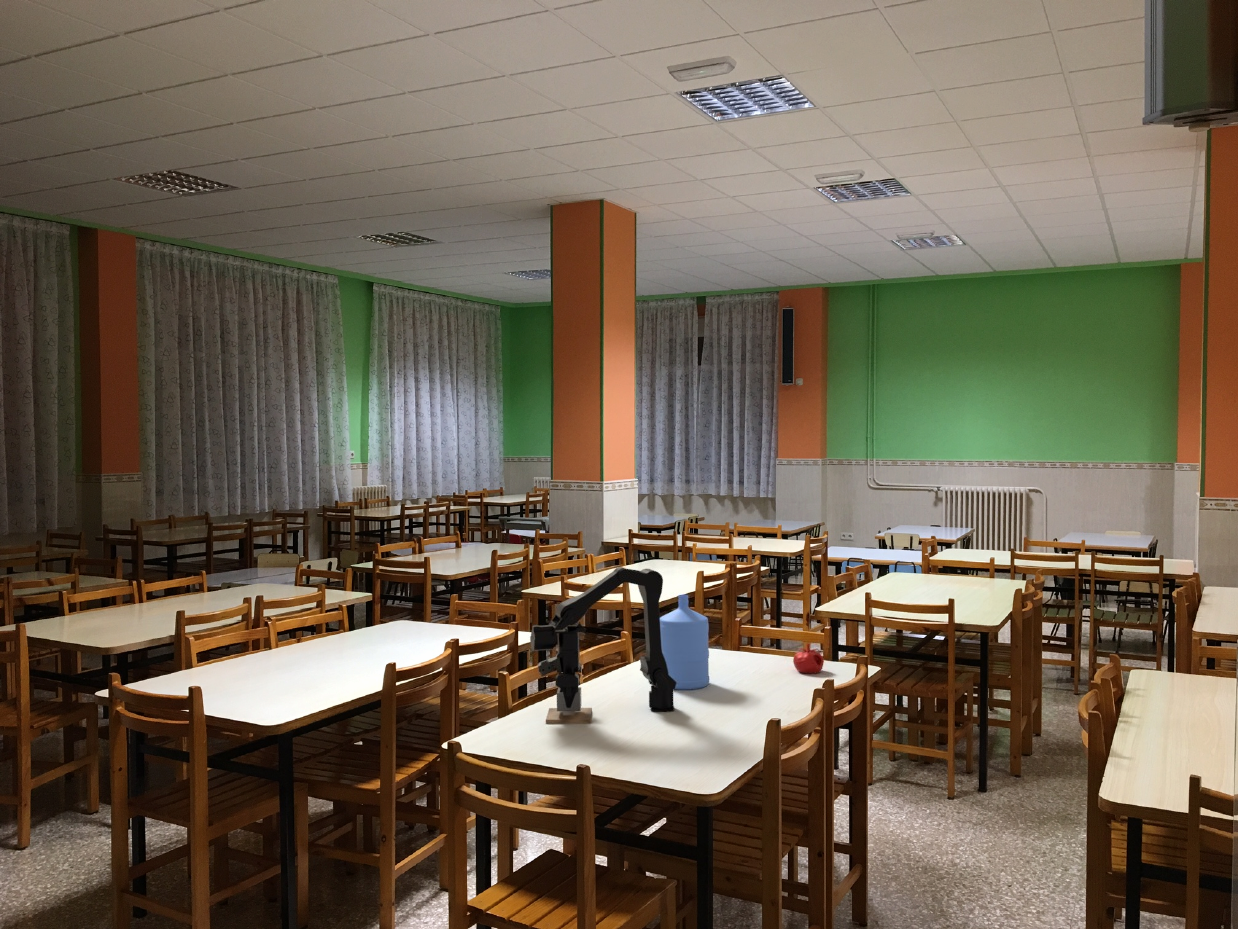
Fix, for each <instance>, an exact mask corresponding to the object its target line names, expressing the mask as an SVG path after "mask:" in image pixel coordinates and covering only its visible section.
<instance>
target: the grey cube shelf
mask: <svg viewBox="0 0 1238 929" xmlns="http://www.w3.org/2000/svg"><path fill="white" fill-rule="evenodd" d="M556 708H557V711H580V710H581V708H582V687H581V686H580V687H579V686H578V689H577V691H576V694H575V697H574V700H573V702H572V705H571V708H567V707H566V703H565V699H564V695H563V691H562V689H560V688H559V687H557V692H556Z"/></svg>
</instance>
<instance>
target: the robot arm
mask: <svg viewBox="0 0 1238 929" xmlns="http://www.w3.org/2000/svg"><path fill="white" fill-rule="evenodd" d="M624 583H627V584H631V585H632V584H634V585H637V587H638V591H639V594H640V596H641V599H642V602H643V619H644V622H643V623H644V635H645V636H644V637H645V653H644V656H639V662H640V669H639V671H640V672H641V673H642V675H643V677H644V678H645V679H646V680H648V683H649V685H650V690H649V691H648V706H649V708H650V711H651V712H674V711H675V707H674V690H676V689H675V687H676V681H675V680H674V679H673V678H671V677H670V676H669V675H668V674H669V673H668V668H667V664H666V661H665V658H664V655H663V653H662V646H661V629H660V618H661V613H660V598H661V596H662V593H663V585H664V579H663V576H662V574H661V573H659V572H658V570H657V571H656V570H653V569H651V568H643V569H641V570H638V569H631V568H625V567H623V566H618V567H616V568H614V570H613V571H612V572H610V573H609V574H607V575H606V576H604V577H603V578H602V579H600V580H599V581H598V582H596V583H595V584H594V585H592V586H591V587H589V588H588V589H587V590H585V591H584V592H582V593H581V594H578V595H576V596H573V597H570V598H568V599H566V600H564V601H563V602H560V603H559V604H557V607H556V609H555V614H554V616H553V618H552V619H551V620H550V622H549V623H548V624H547V625H538V624H536V625H532V626H531V628H532V629H531V633H530V636H529V638H530V639H529V640H530V648H531V651H532V652H534V651H535V652H536V651H549V650H554V648H556V647H557V653H556V656H554V657H551V658H548V659H547V658H546V659H545V660H542V661H540V662H539V663H537V669H538V672H539V673H540V676H541V677H545V676H547V675H548V674H549V675H550V674H551V673H553V672H556V674H557V673H558V674H557V675H555V687H557V688H560V689H562V691H563V695H564V699H565V703H566V707H567V708H571V705H572V702H573V700H574V697H575V694H576V691H577V689H578V687H579V686H580V680H581V677H582V674H581V673H582V671H583V670H582V663H581V662H580V637H579V636H580V633H584V632H587V629H586V628H585V627H584V626H583V625H582V623H581V622H580V620H581V619H583V617H584V616H585V615H586V614H587V613H588V610H589V609H590V608H591V607H592V606H594V605H595V604H597V603H598V602H599V601H601V600H602V599H603V598H605V597H606V596H608V595H609V594H611V592H613V591H614V590H616V589H617V588H619V587H620V586H622V584H624Z"/></svg>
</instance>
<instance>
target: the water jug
mask: <svg viewBox="0 0 1238 929" xmlns="http://www.w3.org/2000/svg"><path fill="white" fill-rule="evenodd" d="M677 596H678V603H677V604H678V607H677V608H676V609H674V610H672V611H671V612H669V613H666V614H664V615H662V616H660V629H661V646H662V653H663V655H664V658H665V661H666V664H667V668H668V673H669V674H668V675H669V676H670V677H671V678H673V679H674V680H675V681H676V687H675V689H674V690H686V691H687V690H690V691H691V690H698V689H702V688H705V687H707V686H708V685H710V684H709V683H710V676H709V675H710V673H709V671H710V670H709V669H710V668H709V664H710V663H709V657H710V651H709V629H710V627H709V626H710V624H709V618H708V617H707V616H705V615H703V614H701V613H699V612H697V611H695V610H693V609H691V608H690V607H689V602H690V601H689V595H688V594H678V595H677Z"/></svg>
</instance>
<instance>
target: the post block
mask: <svg viewBox="0 0 1238 929" xmlns="http://www.w3.org/2000/svg"><path fill="white" fill-rule="evenodd" d="M592 710H593V708H592V707H581V710H580V711H557V707H549V708H548V711H547V715H546V718H545V724H590V723H591V721H590V720H592V712H593V711H592Z"/></svg>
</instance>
